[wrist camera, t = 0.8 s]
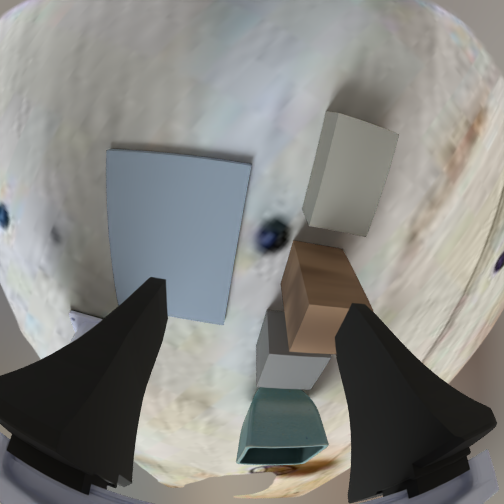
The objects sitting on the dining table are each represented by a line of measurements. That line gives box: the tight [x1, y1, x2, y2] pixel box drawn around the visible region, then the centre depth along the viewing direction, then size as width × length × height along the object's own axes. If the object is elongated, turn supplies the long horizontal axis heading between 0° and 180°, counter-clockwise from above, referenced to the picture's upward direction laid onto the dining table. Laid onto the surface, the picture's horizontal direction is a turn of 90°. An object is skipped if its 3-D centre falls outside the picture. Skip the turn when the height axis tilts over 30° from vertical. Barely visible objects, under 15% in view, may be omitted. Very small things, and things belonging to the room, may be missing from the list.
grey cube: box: [256, 310, 331, 390], centre depth 23 cm, size 5×5×5 cm
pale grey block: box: [302, 111, 399, 237], centre depth 16 cm, size 7×4×3 cm, turn 170°
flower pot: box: [236, 387, 329, 465], centre depth 27 cm, size 9×9×9 cm
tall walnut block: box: [281, 240, 373, 354], centre depth 18 cm, size 4×4×7 cm
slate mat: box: [106, 149, 251, 325], centre depth 20 cm, size 14×10×1 cm
